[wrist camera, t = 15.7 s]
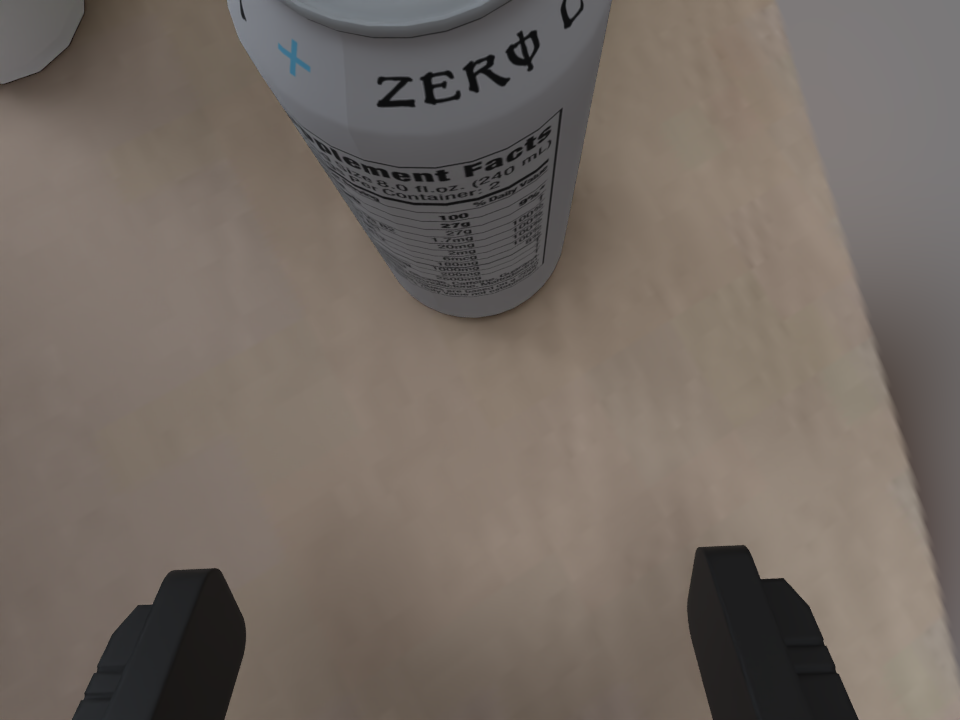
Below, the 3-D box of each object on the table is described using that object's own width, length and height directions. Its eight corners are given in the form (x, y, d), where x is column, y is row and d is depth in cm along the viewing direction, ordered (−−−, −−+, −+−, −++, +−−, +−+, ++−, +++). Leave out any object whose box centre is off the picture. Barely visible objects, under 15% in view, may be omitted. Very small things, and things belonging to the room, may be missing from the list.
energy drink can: (586, 183, 24) (698, -289, 9) (530, 347, 23) (549, 132, 8) (422, 133, 24) (269, -386, 9) (362, 292, 24) (94, -2, 9)
